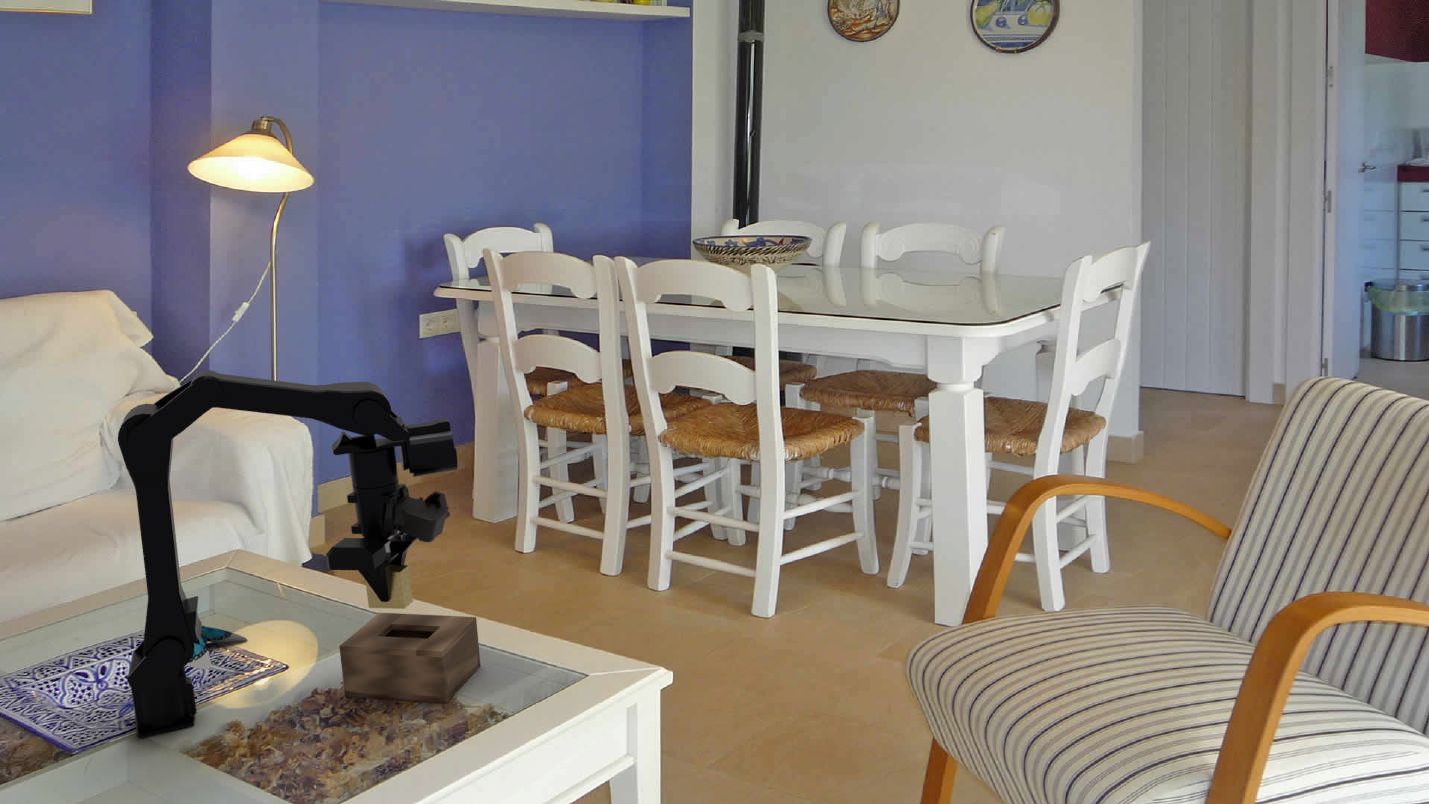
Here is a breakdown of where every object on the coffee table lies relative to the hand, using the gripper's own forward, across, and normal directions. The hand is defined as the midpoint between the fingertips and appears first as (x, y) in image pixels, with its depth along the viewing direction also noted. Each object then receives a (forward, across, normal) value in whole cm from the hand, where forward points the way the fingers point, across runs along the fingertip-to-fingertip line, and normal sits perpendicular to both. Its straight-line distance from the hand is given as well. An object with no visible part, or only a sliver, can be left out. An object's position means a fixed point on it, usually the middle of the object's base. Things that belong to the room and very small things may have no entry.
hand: (390, 597), depth 162 cm
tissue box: (+12, 0, -2) cm, 12 cm away
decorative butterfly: (+12, +5, +33) cm, 36 cm away
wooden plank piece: (+1, 0, 0) cm, 1 cm away
